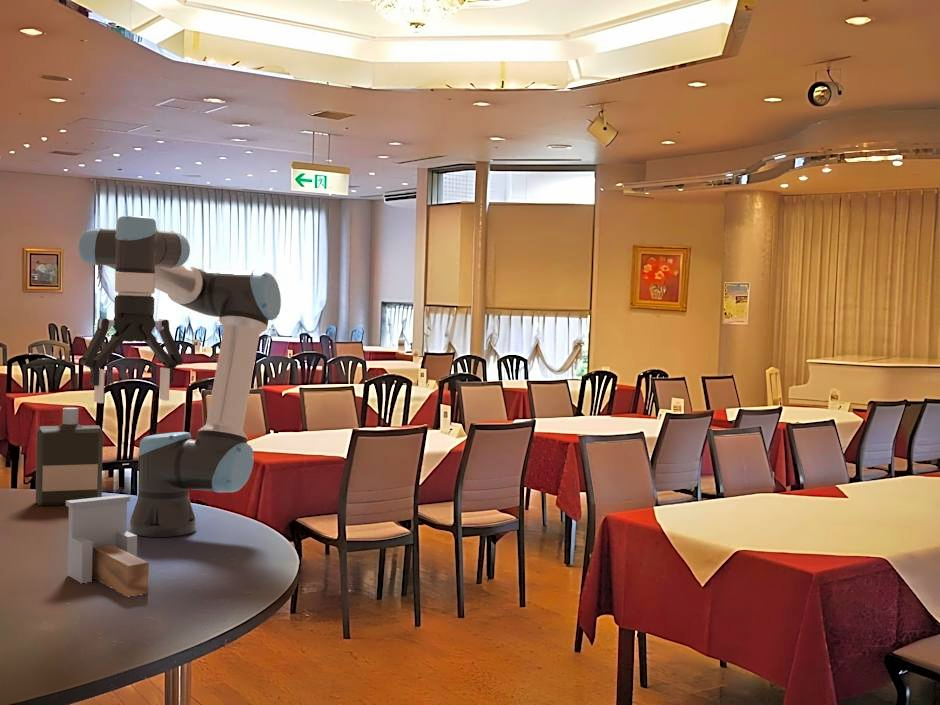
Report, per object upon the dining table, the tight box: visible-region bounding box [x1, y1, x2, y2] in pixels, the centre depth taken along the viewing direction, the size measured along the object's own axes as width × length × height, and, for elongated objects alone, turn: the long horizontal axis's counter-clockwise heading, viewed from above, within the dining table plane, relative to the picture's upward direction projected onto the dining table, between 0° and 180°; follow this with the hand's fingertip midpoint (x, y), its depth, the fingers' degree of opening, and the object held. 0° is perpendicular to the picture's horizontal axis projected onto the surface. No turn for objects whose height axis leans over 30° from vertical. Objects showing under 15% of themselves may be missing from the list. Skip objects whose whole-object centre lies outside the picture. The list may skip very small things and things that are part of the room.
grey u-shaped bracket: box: [65, 494, 138, 584], centre depth 201 cm, size 12×7×15 cm, turn 133°
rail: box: [92, 544, 150, 598], centre depth 195 cm, size 4×17×6 cm, turn 42°
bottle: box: [35, 407, 104, 507], centre depth 267 cm, size 8×16×25 cm, turn 115°
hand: (132, 401), depth 203 cm, fingers open, 13 cm apart
